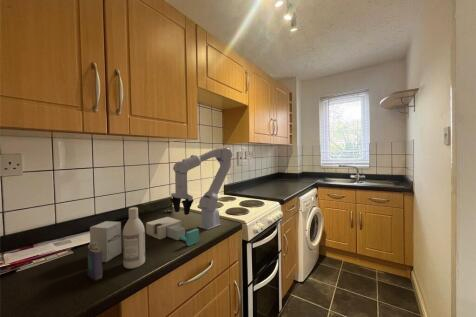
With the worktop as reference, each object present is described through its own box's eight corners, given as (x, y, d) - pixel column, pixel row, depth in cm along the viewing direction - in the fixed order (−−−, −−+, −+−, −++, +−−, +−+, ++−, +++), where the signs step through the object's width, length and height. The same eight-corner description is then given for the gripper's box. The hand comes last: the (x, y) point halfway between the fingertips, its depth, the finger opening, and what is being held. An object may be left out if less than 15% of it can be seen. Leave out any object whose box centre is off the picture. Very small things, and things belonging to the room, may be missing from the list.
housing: (167, 226, 110) (167, 216, 110) (181, 231, 103) (181, 220, 103) (146, 233, 101) (146, 222, 100) (159, 239, 93) (159, 227, 93)
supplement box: (106, 262, 73) (105, 228, 73) (89, 260, 75) (88, 227, 75) (122, 253, 81) (121, 221, 80) (106, 251, 82) (105, 220, 82)
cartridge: (173, 231, 102) (172, 220, 102) (199, 241, 90) (198, 229, 90) (162, 235, 97) (162, 224, 97) (188, 246, 85) (188, 233, 85)
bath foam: (135, 257, 77) (134, 205, 77) (149, 260, 74) (148, 206, 74) (118, 267, 70) (117, 209, 70) (133, 271, 68) (132, 211, 68)
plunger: (159, 231, 99) (159, 223, 99) (162, 232, 97) (162, 224, 97) (154, 232, 97) (153, 224, 97) (157, 234, 95) (157, 225, 95)
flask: (104, 278, 64) (103, 244, 64) (93, 282, 62) (91, 247, 62) (95, 267, 70) (94, 237, 70) (85, 271, 68) (84, 239, 68)
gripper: (165, 185, 101) (166, 212, 102) (183, 188, 93) (184, 217, 93) (177, 183, 107) (178, 209, 107) (195, 186, 98) (196, 214, 98)
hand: (181, 213), depth 100 cm, fingers open, 7 cm apart
